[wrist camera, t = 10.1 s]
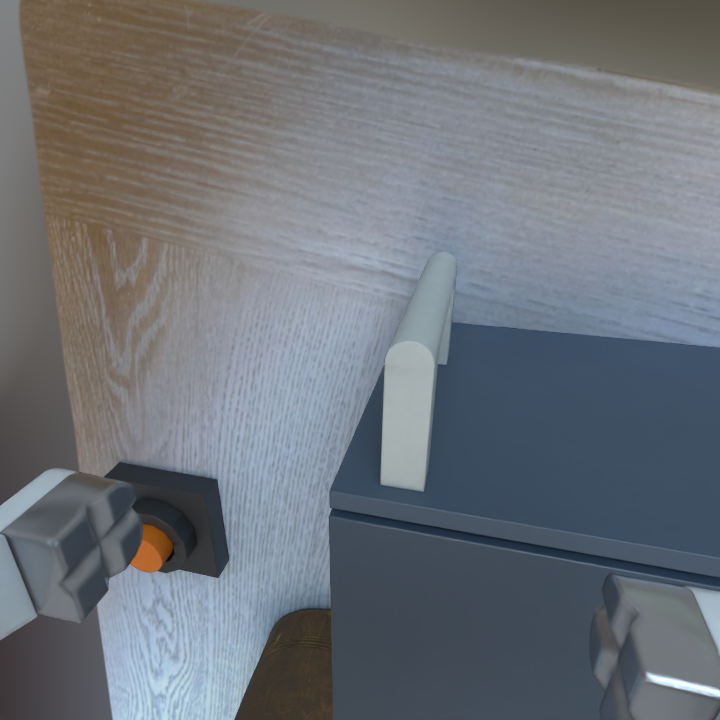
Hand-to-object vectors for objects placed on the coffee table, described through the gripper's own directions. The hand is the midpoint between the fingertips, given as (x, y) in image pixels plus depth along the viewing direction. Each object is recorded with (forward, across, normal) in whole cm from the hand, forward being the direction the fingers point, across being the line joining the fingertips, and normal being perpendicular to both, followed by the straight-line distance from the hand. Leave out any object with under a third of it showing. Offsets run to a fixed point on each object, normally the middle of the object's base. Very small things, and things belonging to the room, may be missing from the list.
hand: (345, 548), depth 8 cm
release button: (+21, +24, +27) cm, 42 cm away
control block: (+25, +24, +27) cm, 44 cm away
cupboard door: (+25, -8, +3) cm, 26 cm away
